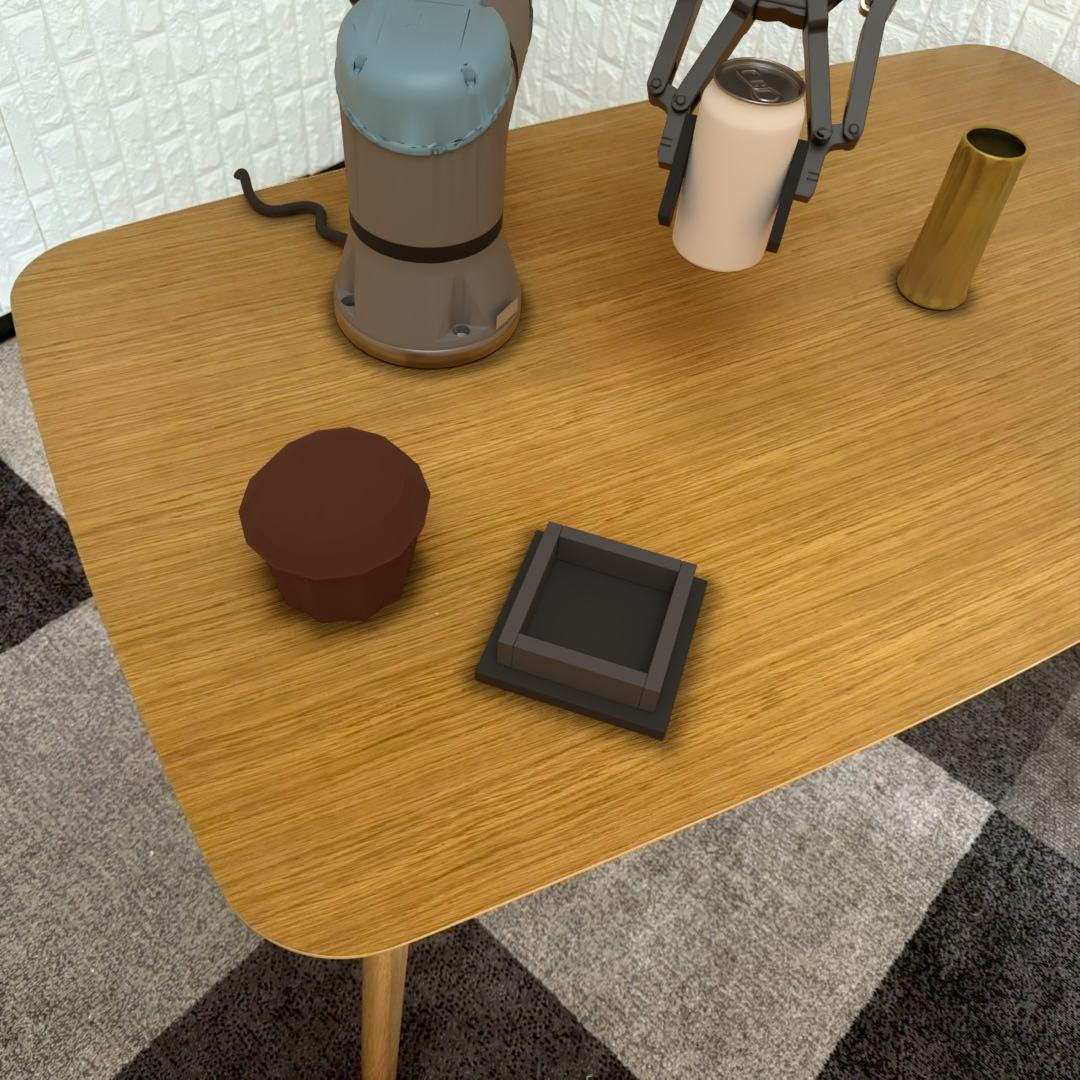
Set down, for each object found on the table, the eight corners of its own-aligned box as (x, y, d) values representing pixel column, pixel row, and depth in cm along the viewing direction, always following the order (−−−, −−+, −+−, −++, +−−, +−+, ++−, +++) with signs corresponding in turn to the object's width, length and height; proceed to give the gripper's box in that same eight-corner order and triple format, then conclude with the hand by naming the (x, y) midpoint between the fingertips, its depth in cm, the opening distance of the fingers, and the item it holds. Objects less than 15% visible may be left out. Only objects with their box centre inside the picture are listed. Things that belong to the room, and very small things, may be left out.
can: (691, 282, 68) (732, 111, 59) (657, 225, 72) (690, 56, 62) (778, 271, 70) (831, 103, 60) (740, 216, 73) (785, 50, 64)
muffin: (360, 671, 62) (348, 574, 54) (218, 593, 65) (187, 490, 57) (463, 543, 69) (465, 440, 61) (330, 477, 72) (316, 371, 64)
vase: (883, 273, 92) (943, 124, 81) (941, 264, 93) (1007, 117, 82) (918, 315, 88) (985, 166, 77) (977, 306, 90) (1052, 158, 79)
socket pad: (474, 680, 62) (475, 649, 60) (535, 538, 70) (539, 505, 67) (662, 741, 61) (673, 712, 58) (705, 589, 68) (716, 557, 65)
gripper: (964, -72, 66) (857, 281, 68) (672, -131, 68) (580, 212, 71) (999, -139, 58) (877, 260, 61) (669, -203, 61) (566, 183, 63)
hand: (718, 234), depth 66 cm, fingers closed on can, 6 cm apart
